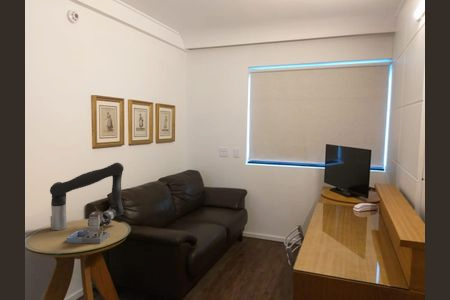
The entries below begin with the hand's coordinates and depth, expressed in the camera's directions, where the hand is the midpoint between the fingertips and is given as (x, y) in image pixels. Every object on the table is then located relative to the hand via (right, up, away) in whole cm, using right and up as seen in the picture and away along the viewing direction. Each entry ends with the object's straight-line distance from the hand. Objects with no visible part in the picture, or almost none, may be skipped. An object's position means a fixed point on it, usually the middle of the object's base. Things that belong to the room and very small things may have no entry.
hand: (94, 224), depth 195 cm
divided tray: (-5, -10, +3) cm, 12 cm away
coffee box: (0, -9, +3) cm, 10 cm away
